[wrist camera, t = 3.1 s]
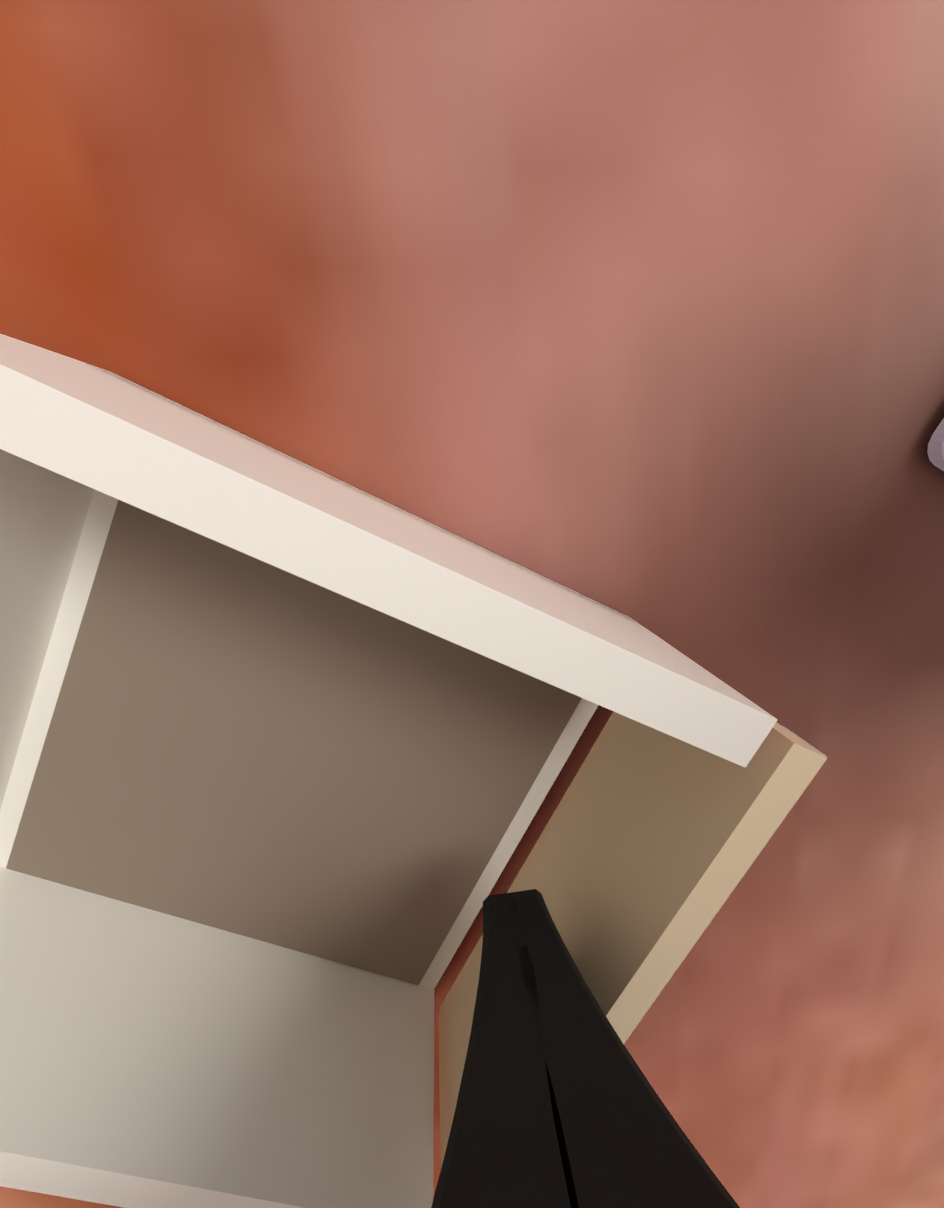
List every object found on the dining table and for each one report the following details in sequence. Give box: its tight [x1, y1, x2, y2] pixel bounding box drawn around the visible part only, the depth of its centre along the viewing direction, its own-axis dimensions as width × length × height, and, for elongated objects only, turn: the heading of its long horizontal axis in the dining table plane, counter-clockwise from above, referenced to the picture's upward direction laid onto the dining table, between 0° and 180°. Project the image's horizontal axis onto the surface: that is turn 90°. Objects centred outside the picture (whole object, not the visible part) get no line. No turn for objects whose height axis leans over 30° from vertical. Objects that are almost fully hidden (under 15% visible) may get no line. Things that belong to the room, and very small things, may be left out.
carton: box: [0, 334, 778, 1208], centre depth 9 cm, size 12×12×5 cm
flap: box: [439, 711, 827, 1172], centre depth 10 cm, size 1×12×4 cm, turn 154°
